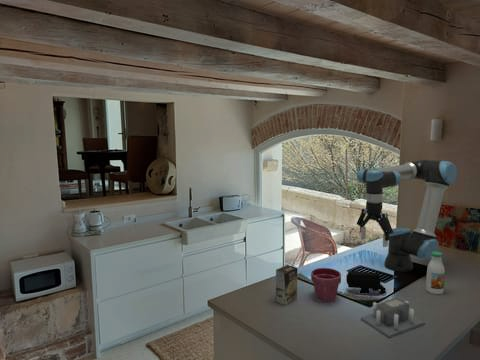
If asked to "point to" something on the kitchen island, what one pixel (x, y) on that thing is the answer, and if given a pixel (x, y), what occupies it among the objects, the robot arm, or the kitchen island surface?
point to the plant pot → (326, 283)
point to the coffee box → (286, 284)
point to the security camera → (365, 282)
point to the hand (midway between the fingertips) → (373, 242)
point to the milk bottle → (435, 274)
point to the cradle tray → (390, 329)
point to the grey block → (393, 311)
